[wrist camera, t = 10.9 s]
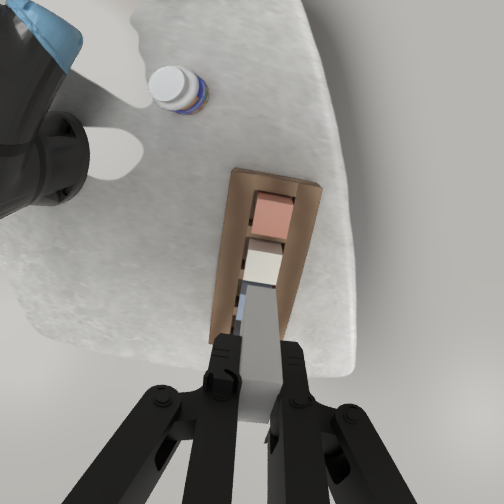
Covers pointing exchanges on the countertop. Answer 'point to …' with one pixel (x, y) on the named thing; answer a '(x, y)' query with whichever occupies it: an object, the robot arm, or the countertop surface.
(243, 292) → the key blue
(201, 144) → the countertop surface
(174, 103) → the pill bottle
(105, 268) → the countertop surface
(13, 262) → the countertop surface
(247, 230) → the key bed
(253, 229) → the key brick
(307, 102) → the countertop surface
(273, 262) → the key ivory
